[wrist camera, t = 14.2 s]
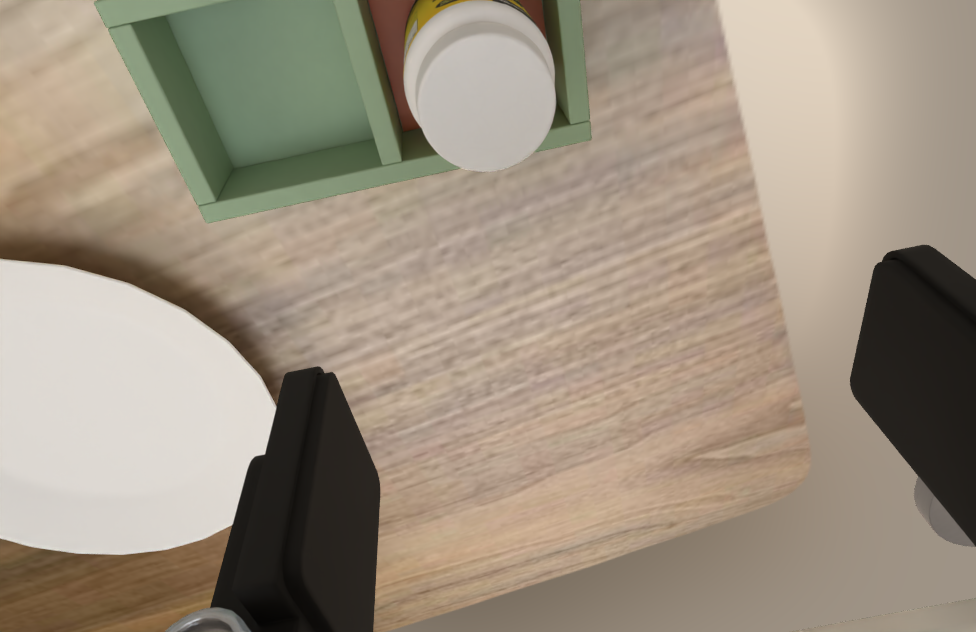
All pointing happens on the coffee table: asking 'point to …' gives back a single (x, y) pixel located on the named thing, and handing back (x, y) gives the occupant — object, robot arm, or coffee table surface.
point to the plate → (118, 416)
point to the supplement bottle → (479, 81)
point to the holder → (302, 94)
